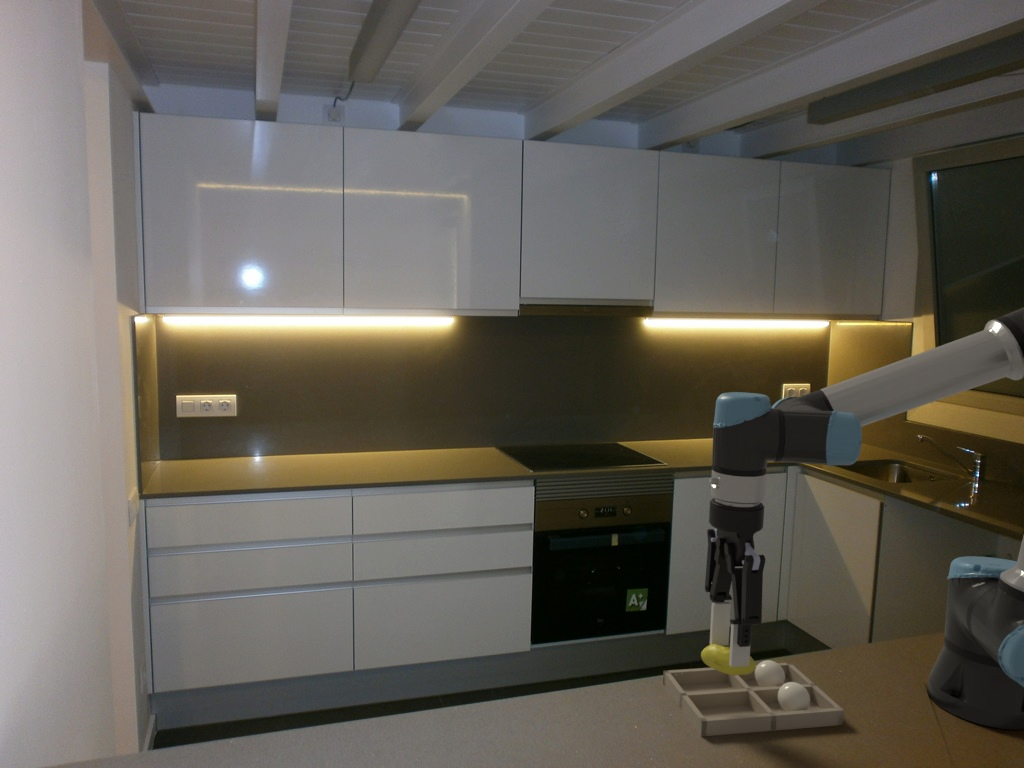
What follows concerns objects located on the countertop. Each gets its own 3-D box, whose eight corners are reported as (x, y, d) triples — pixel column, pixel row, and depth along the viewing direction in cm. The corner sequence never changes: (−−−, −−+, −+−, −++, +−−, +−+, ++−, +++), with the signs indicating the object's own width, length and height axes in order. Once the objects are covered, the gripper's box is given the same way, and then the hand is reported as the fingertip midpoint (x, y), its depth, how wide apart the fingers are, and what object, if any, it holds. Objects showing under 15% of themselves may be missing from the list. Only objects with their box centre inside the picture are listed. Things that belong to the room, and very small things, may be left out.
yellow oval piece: (707, 658, 115) (708, 634, 114) (759, 675, 110) (760, 650, 109) (695, 668, 111) (696, 643, 111) (748, 686, 106) (749, 660, 106)
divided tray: (789, 678, 125) (790, 662, 125) (842, 728, 110) (843, 710, 110) (662, 687, 121) (663, 670, 121) (700, 740, 106) (701, 721, 106)
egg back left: (809, 708, 114) (810, 679, 114) (809, 723, 110) (811, 694, 110) (777, 702, 116) (778, 674, 115) (776, 717, 112) (778, 687, 111)
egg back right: (784, 685, 121) (786, 658, 121) (784, 699, 117) (785, 670, 116) (754, 680, 123) (756, 653, 122) (753, 693, 119) (754, 665, 118)
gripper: (686, 485, 117) (679, 628, 119) (743, 519, 98) (733, 688, 100) (731, 484, 118) (724, 626, 120) (796, 518, 99) (785, 685, 102)
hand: (728, 654), depth 110 cm, fingers closed on yellow oval piece, 6 cm apart
